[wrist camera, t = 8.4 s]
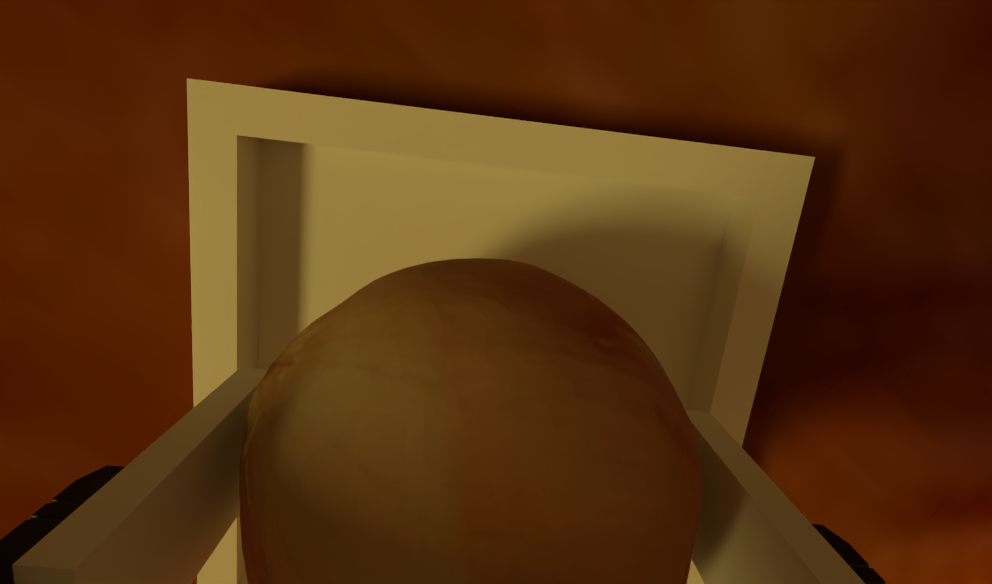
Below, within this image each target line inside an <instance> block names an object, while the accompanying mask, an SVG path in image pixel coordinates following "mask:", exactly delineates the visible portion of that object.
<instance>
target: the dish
mask: <svg viewBox="0 0 992 584" xmlns="http://www.w3.org/2000/svg"><path fill="white" fill-rule="evenodd" d="M187 106H188V155H189V203H190V252H191V301H192V349H193V398H194V407H195V406H196V405H198V404H199V403H200V402H201V401H202V400H203V399H205V398H206V397H207V396H208V395H209V394H210V393H211V392H213V391H214V390H215V389H216V388H217V387H218V386H220V385H221V384H222V383H223V382H224V381H225V380H226V379H228V378H229V377H230V376H231V375H232V374H233V373H235V372H236V371H237V370H238V369H239V368H240V367H245V368H255V369H265V370H268V369H269V367H270V365H271V364H272V363H273V361H274V360H275V358H276V357H277V356H278V355H279V353H280V352H281V351H282V350H283V349H284V348H285V347H286V346H287V345H288V344H289V343H290V342H291V341H292V340H293V339H294V338H295V337H296V336H297V335H299V334H300V333H301V332H302V331H303V330H304V329H305V328H306V327H308V326H309V325H310V324H311V323H312V322H313V321H315V320H316V319H318V318H319V317H321V316H322V315H324V314H325V313H327V312H328V311H330V310H332V309H333V308H335V307H336V306H338V305H339V304H340V303H342V302H343V301H345V300H346V299H347V298H349V297H350V296H352V295H353V294H354V293H356V292H357V291H358V290H360V289H361V288H363V287H364V286H366V285H368V284H369V283H371V282H372V281H374V280H376V279H378V278H380V277H383V276H385V275H387V274H390V273H392V272H395V271H398V270H401V269H404V268H407V267H411V266H415V265H419V264H424V263H428V262H433V261H441V260H449V259H466V258H489V259H505V260H511V261H518V262H523V263H526V264H530V265H534V266H537V267H539V268H541V269H544V270H546V271H548V272H550V273H553V274H555V275H557V276H559V277H561V278H563V279H565V280H567V281H569V282H571V283H573V284H575V285H576V286H578V287H580V288H582V289H583V290H585V291H587V292H588V293H590V294H591V295H593V296H594V297H596V298H598V299H599V300H600V301H602V302H603V303H604V304H606V305H607V306H608V307H609V308H611V309H612V310H613V311H615V312H616V313H617V314H618V315H619V316H620V317H622V318H623V319H624V320H625V321H626V322H627V323H628V324H629V325H630V326H631V327H632V328H633V329H634V330H635V331H636V332H637V333H638V334H639V336H640V337H641V338H642V339H643V340H644V342H645V343H646V344H647V346H648V347H649V348H650V349H651V351H652V352H653V353H654V355H655V356H656V358H657V359H658V361H659V362H660V364H661V365H662V367H663V369H664V371H665V372H666V374H667V376H668V378H669V380H670V381H671V383H672V385H673V387H674V389H675V390H676V392H677V395H678V397H679V399H680V401H681V403H682V405H683V407H684V409H685V410H689V411H700V412H710V413H711V414H712V415H713V416H714V417H715V418H716V419H717V421H718V422H719V423H720V424H721V425H722V426H723V427H724V428H725V429H726V430H727V432H728V433H729V434H730V435H731V436H732V437H733V438H734V439H735V440H736V441H737V443H738V444H739V445H740V446H741V447H742V444H743V440H744V436H745V432H746V428H747V425H748V421H749V417H750V413H751V409H752V405H753V401H754V397H755V393H756V389H757V385H758V381H759V377H760V373H761V369H762V365H763V361H764V357H765V353H766V349H767V345H768V341H769V337H770V334H771V330H772V326H773V322H774V318H775V314H776V310H777V306H778V302H779V298H780V294H781V290H782V286H783V282H784V278H785V274H786V270H787V266H788V262H789V258H790V254H791V250H792V246H793V242H794V239H795V235H796V231H797V227H798V223H799V219H800V215H801V211H802V207H803V203H804V199H805V195H806V191H807V187H808V183H809V179H810V175H811V171H812V167H813V163H814V159H815V157H811V156H803V155H795V154H787V153H779V152H771V151H763V150H755V149H747V148H739V147H731V146H723V145H715V144H707V143H699V142H691V141H683V140H675V139H667V138H659V137H651V136H643V135H635V134H627V133H619V132H611V131H603V130H595V129H587V128H579V127H571V126H563V125H555V124H547V123H539V122H531V121H523V120H515V119H507V118H499V117H491V116H483V115H475V114H467V113H459V112H451V111H443V110H435V109H427V108H419V107H411V106H403V105H395V104H387V103H379V102H371V101H363V100H355V99H347V98H339V97H331V96H323V95H315V94H307V93H299V92H291V91H283V90H275V89H267V88H259V87H251V86H243V85H235V84H227V83H219V82H211V81H203V80H195V79H187ZM197 584H248V583H247V576H246V569H245V562H244V556H243V552H242V540H241V526H240V513H239V515H238V516H237V518H236V519H235V521H234V522H233V524H232V525H231V526H230V528H229V529H228V531H227V532H226V534H225V535H224V537H223V538H222V540H221V541H220V543H219V544H218V545H217V547H216V548H215V550H214V551H213V553H212V554H211V556H210V557H209V559H208V560H207V562H206V563H205V565H204V566H203V567H202V569H201V570H200V572H199V573H198V575H197ZM687 584H705V583H704V582H703V580H702V578H701V576H700V574H699V572H698V570H697V568H696V566H695V564H694V563H693V561H692V559H691V565H690V570H689V575H688V580H687Z"/></svg>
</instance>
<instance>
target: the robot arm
mask: <svg viewBox="0 0 992 584" xmlns="http://www.w3.org/2000/svg"><path fill="white" fill-rule="evenodd" d="M266 372H267V370H265V369H255V368H245V367H240V368H239V369H238V370H237V371H236V372H235V373H233V374H232V375H231V376H230V377H229V378H228V379H226V380H225V381H224V382H223V383H222V384H221V385H220V386H218V387H217V388H216V389H215V390H214V391H213V392H211V393H210V394H209V395H208V396H207V397H206V398H205V399H203V400H202V401H201V402H200V403H199V404H198V405H196V406H195V407H194V408H193V409H192V410H191V411H189V412H188V413H187V414H186V415H185V416H184V417H183V418H181V419H180V420H179V421H178V422H177V423H176V424H174V425H173V426H172V427H171V428H170V429H169V430H168V431H166V432H165V433H164V434H163V435H162V436H161V437H159V438H158V439H157V440H156V441H155V442H154V443H152V444H151V445H150V446H149V447H148V448H147V449H146V450H144V451H143V452H142V453H141V454H140V455H139V456H137V457H136V458H135V459H134V460H133V461H132V462H131V463H129V464H128V465H127V466H126V467H118V466H105V467H103V468H101V469H99V470H97V471H95V472H93V473H91V474H88V475H86V476H84V477H82V478H80V479H78V480H76V481H75V482H73V483H72V484H71V485H70V486H68V487H67V488H66V489H64V490H63V491H62V492H61V493H59V494H58V495H57V496H56V497H54V498H53V499H52V501H51V503H50V504H49V503H47V504H46V505H44V506H43V507H42V508H41V509H39V510H38V511H37V512H35V513H34V514H33V515H32V516H31V519H30V520H25V521H24V522H23V523H22V524H20V525H19V526H18V527H17V528H15V529H14V530H13V531H11V532H10V533H9V534H8V535H6V536H5V537H4V538H3V539H1V540H0V584H192V582H193V581H194V579H195V578H196V576H197V575H198V573H199V572H200V570H201V569H202V567H203V566H204V565H205V563H206V562H207V560H208V559H209V557H210V556H211V554H212V553H213V551H214V550H215V548H216V547H217V545H218V544H219V543H220V541H221V540H222V538H223V537H224V535H225V534H226V532H227V531H228V529H229V528H230V526H231V525H232V524H233V522H234V521H235V519H236V518H237V516H238V515H239V513H240V498H239V474H240V457H241V450H242V439H243V428H244V421H245V413H246V409H247V406H248V404H249V401H250V399H251V396H252V394H253V393H254V391H255V389H256V388H257V386H258V384H259V383H260V381H261V380H262V378H263V377H264V375H265V374H266ZM685 411H686V413H687V415H688V417H689V419H690V421H691V423H692V426H693V429H694V432H695V436H696V442H697V448H698V453H699V458H700V466H701V474H702V501H701V511H700V518H699V525H698V531H697V535H696V540H695V544H694V548H693V553H692V561H693V563H694V564H695V566H696V568H697V570H698V572H699V574H700V576H701V578H702V580H703V582H704V583H705V584H885V581H884V580H883V579H882V578H881V577H880V576H879V575H878V574H877V573H876V572H875V571H874V570H873V569H872V568H869V566H868V565H869V564H868V563H867V562H866V561H865V560H864V559H863V558H862V557H861V556H860V555H859V554H858V553H857V552H856V551H855V550H854V549H853V548H852V547H851V546H850V544H849V543H847V542H846V541H844V540H843V539H841V538H840V537H839V536H837V535H836V534H834V533H833V532H831V531H830V530H828V529H827V528H826V527H824V526H823V525H817V524H811V523H810V522H809V521H808V520H807V519H806V518H805V517H804V515H803V514H802V513H801V512H800V511H799V510H798V509H797V508H796V507H795V506H794V504H793V503H792V502H791V501H790V500H789V499H788V498H787V497H786V496H785V494H784V493H783V492H782V491H781V490H780V489H779V488H778V487H777V486H776V485H775V483H774V482H773V481H772V480H771V479H770V478H769V477H768V476H767V475H766V473H765V472H764V471H763V470H762V469H761V468H760V467H759V466H758V465H757V464H756V462H755V461H754V460H753V459H752V458H751V457H750V456H749V455H748V454H747V453H746V451H745V450H744V449H743V448H742V447H741V446H740V445H739V444H738V443H737V441H736V440H735V439H734V438H733V437H732V436H731V435H730V434H729V433H728V432H727V430H726V429H725V428H724V427H723V426H722V425H721V424H720V423H719V422H718V421H717V419H716V418H715V417H714V416H713V415H712V414H711V413H710V412H700V411H689V410H685Z"/></svg>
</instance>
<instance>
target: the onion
mask: <svg viewBox="0 0 992 584" xmlns="http://www.w3.org/2000/svg"><path fill="white" fill-rule="evenodd" d="M239 498H240V526H241V540H242V552H243V556H244V562H245V569H246V576H247V583H248V584H687V580H688V575H689V570H690V565H691V559H692V553H693V548H694V544H695V540H696V535H697V531H698V525H699V518H700V511H701V501H702V474H701V466H700V458H699V453H698V448H697V442H696V436H695V432H694V429H693V426H692V423H691V421H690V419H689V417H688V415H687V413H686V411H685V409H684V407H683V405H682V403H681V401H680V399H679V397H678V395H677V392H676V390H675V389H674V387H673V385H672V383H671V381H670V380H669V378H668V376H667V374H666V372H665V371H664V369H663V367H662V365H661V364H660V362H659V361H658V359H657V358H656V356H655V355H654V353H653V352H652V351H651V349H650V348H649V347H648V346H647V344H646V343H645V342H644V340H643V339H642V338H641V337H640V336H639V334H638V333H637V332H636V331H635V330H634V329H633V328H632V327H631V326H630V325H629V324H628V323H627V322H626V321H625V320H624V319H623V318H622V317H620V316H619V315H618V314H617V313H616V312H615V311H613V310H612V309H611V308H609V307H608V306H607V305H606V304H604V303H603V302H602V301H600V300H599V299H598V298H596V297H594V296H593V295H591V294H590V293H588V292H587V291H585V290H583V289H582V288H580V287H578V286H576V285H575V284H573V283H571V282H569V281H567V280H565V279H563V278H561V277H559V276H557V275H555V274H553V273H550V272H548V271H546V270H544V269H541V268H539V267H537V266H534V265H530V264H526V263H523V262H518V261H511V260H505V259H489V258H466V259H449V260H441V261H433V262H428V263H424V264H419V265H415V266H411V267H407V268H404V269H401V270H398V271H395V272H392V273H390V274H387V275H385V276H383V277H380V278H378V279H376V280H374V281H372V282H371V283H369V284H368V285H366V286H364V287H363V288H361V289H360V290H358V291H357V292H356V293H354V294H353V295H352V296H350V297H349V298H347V299H346V300H345V301H343V302H342V303H340V304H339V305H338V306H336V307H335V308H333V309H332V310H330V311H328V312H327V313H325V314H324V315H322V316H321V317H319V318H318V319H316V320H315V321H313V322H312V323H311V324H310V325H309V326H308V327H306V328H305V329H304V330H303V331H302V332H301V333H300V334H299V335H297V336H296V337H295V338H294V339H293V340H292V341H291V342H290V343H289V344H288V345H287V346H286V347H285V348H284V349H283V350H282V351H281V352H280V353H279V355H278V356H277V357H276V358H275V360H274V361H273V363H272V364H271V365H270V367H269V369H268V370H267V372H266V374H265V375H264V377H263V378H262V380H261V381H260V383H259V384H258V386H257V388H256V389H255V391H254V393H253V394H252V396H251V399H250V401H249V404H248V406H247V409H246V413H245V421H244V428H243V439H242V450H241V457H240V474H239Z"/></svg>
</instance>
